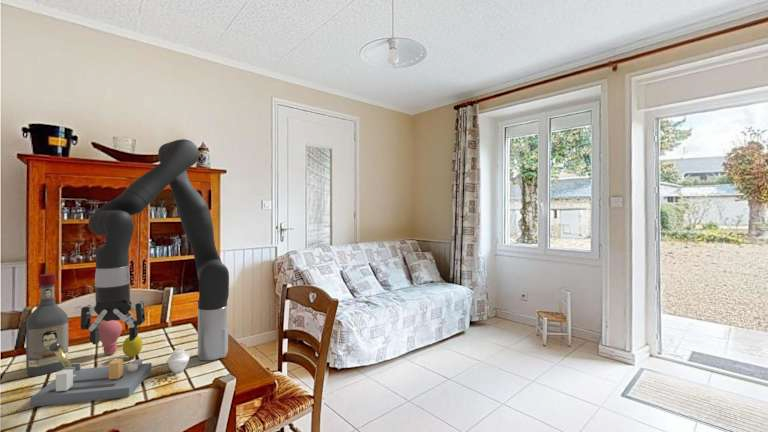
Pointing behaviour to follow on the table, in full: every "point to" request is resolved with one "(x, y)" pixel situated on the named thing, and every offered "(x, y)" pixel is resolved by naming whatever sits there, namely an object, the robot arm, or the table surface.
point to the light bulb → (109, 335)
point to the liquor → (45, 331)
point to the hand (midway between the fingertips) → (114, 341)
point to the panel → (94, 385)
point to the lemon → (132, 346)
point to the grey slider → (64, 380)
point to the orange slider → (116, 369)
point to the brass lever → (60, 354)
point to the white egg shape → (178, 360)
